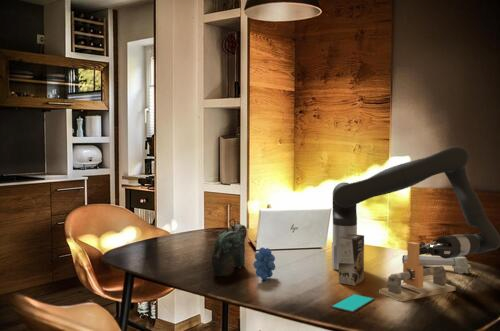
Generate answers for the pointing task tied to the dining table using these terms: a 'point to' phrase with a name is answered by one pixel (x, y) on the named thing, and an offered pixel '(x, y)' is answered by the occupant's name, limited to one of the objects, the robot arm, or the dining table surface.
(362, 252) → the coffee box
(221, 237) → the dark green backpack
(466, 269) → the toothbrush head
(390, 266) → the dining table surface
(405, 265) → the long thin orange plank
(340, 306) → the smartphone
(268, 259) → the grapes
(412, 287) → the pipe stand
